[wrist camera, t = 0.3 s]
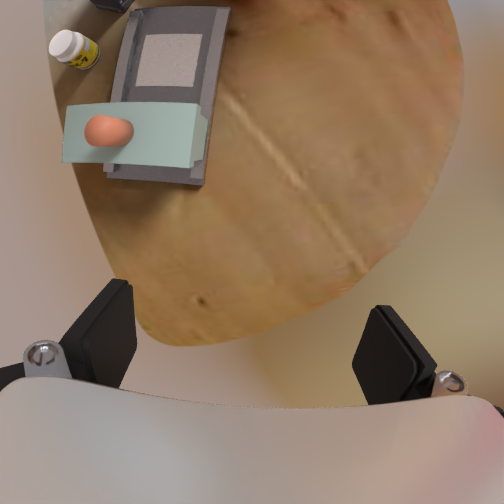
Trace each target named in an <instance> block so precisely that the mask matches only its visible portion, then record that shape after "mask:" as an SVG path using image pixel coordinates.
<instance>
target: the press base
mask: <svg viewBox="0 0 504 504" xmlns="http://www.w3.org/2000/svg"><path fill="white" fill-rule="evenodd" d="M230 16H231V7H216V6H170V7H154V8H142V9H135V10H134V11H131V12H130V15H129V18H128V22H127V25H126V29H125V33H124V37H123V41H122V45H121V49H120V53H119V58H118V62H117V67H116V72H115V77H114V83H113V88H112V94H111V101H110V103H116V102H173V103H193V104H198V105H199V106H200V107H201V112H200V114H201V115H202V116H204V117H205V118H206V119H207V120H208V124H207V131H206V138H205V146H204V154H203V159H202V160H197V161H194V166H193V167H191V168H180V167H168V166H154V165H137V164H116V163H104V165H103V172H107V176H106V178H115V179H132V180H146V181H159V182H171V183H182V184H192V185H202V186H203V185H204V184H205V175H206V166H207V158H208V150H209V142H210V135H211V127H212V120H213V113H214V106H215V100H216V93H217V87H218V81H219V75H220V69H221V63H222V57H223V52H224V46H225V41H226V36H227V31H228V26H229V21H230Z"/></svg>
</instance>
